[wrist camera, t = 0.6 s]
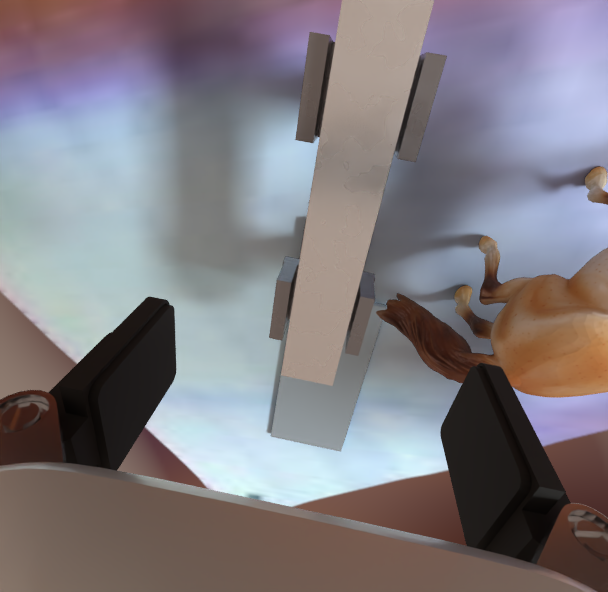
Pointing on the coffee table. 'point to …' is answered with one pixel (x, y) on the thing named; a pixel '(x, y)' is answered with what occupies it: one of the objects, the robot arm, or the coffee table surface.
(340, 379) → the mat
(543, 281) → the horse figurine
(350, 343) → the post
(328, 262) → the rail
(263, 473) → the coffee table surface
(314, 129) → the post
